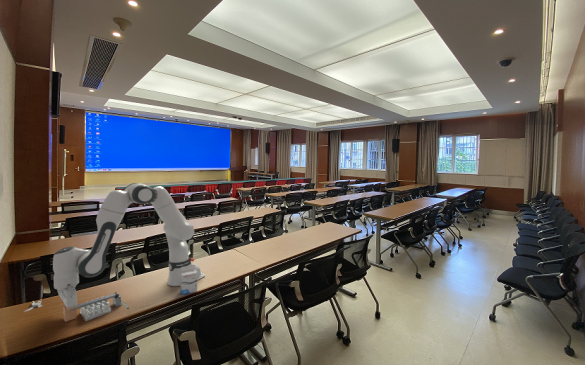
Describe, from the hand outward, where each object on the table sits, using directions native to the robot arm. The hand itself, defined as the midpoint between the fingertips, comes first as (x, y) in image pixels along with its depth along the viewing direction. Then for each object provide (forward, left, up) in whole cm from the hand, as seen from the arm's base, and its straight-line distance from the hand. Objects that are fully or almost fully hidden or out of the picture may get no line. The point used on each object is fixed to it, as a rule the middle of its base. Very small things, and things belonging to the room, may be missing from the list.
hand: (68, 309), depth 120 cm
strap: (-9, +7, +2) cm, 12 cm away
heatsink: (-12, +7, -3) cm, 14 cm away
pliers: (+9, -22, -5) cm, 25 cm away
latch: (0, +6, -3) cm, 6 cm away
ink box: (-50, +21, -4) cm, 54 cm away
